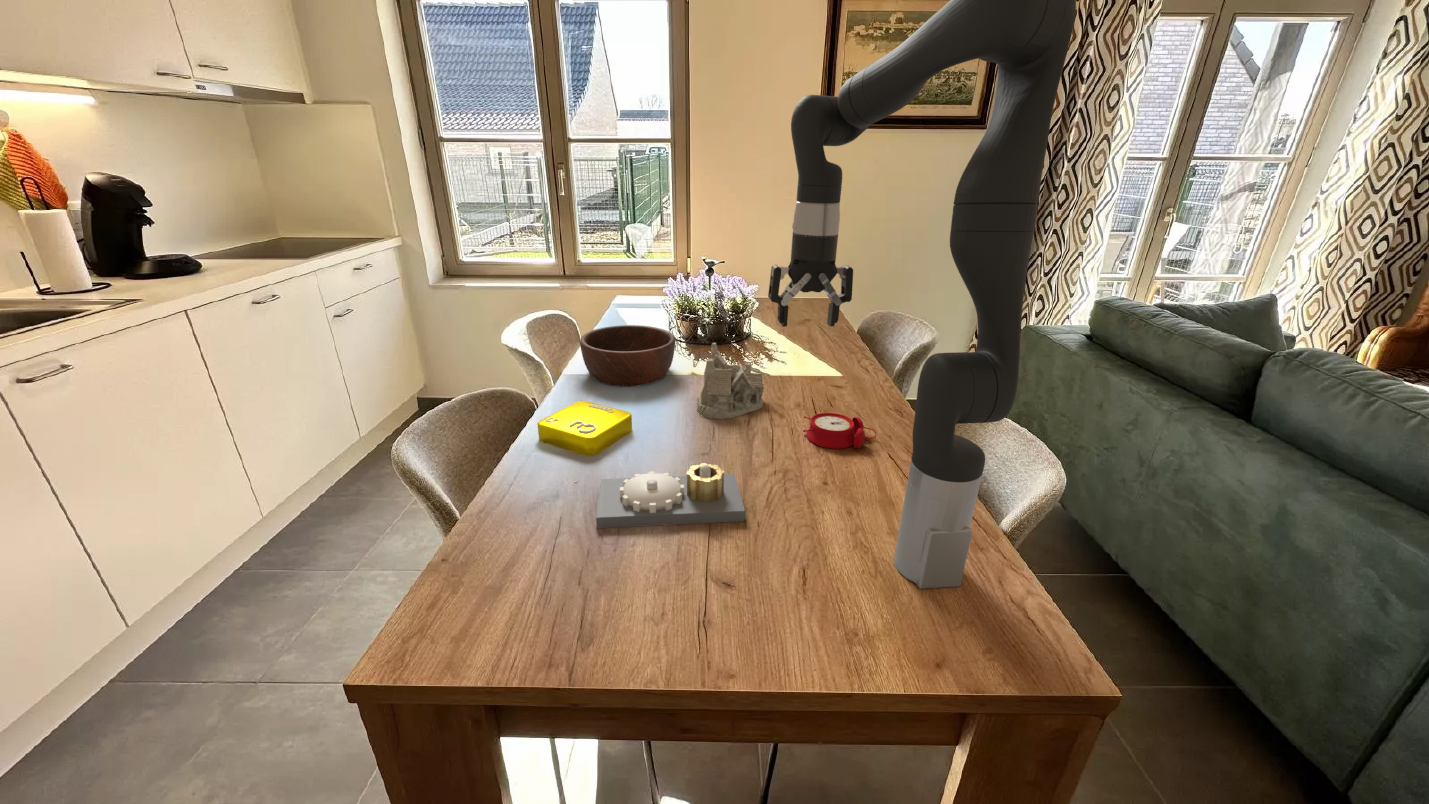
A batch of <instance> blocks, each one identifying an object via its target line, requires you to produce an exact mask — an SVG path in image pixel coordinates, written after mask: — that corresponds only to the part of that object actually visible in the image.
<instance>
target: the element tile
mask: <svg viewBox="0 0 1429 804" xmlns="http://www.w3.org/2000/svg"><path fill="white" fill-rule="evenodd" d="M632 417H633V416H632V413H631V412H629V411H626V410H622V409H619V408H614V407H610V406H606V405H604V404H603V405H602V404H598V403H594V402H590V401H587V400H578V401H575V402H574V403H572V404H570V405H568V406H566V407H564V408H561V409H560V410H558V411H556V412H554V413H552V414H551V415H548V416H546V417H544V418H542V419H540V420H539V421H538V422H537V432H538V440H539V442H540V443H542V444H546V445H550V446H552V447H556V448H559V449H562V450H565V451H569V452H572V453H574V454H575V453H576V454H579V455H582V456H585V457H586V456H589V457H591V456H596V455H598V454H600V453H601V452H604V450H607V449H608V448H609V447H610V446H612V445H614V444H615V443H617V442H618V441H620V440H621V439H623V438H624V437H626V436H628V435H629V434H631V433H632V432H633V422H632V421H633V420H632Z"/></svg>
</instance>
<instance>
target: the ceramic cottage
mask: <svg viewBox="0 0 1429 804" xmlns="http://www.w3.org/2000/svg"><path fill="white" fill-rule="evenodd" d="M710 346H711V349H710V354H711V358H708V359H706V363H705V368H704V372H703V386H702V388H701V392H700V395H699V397H698V398H697V403H696V413H697V412H698V413H699V414H700V415H702V416H704V417H703V418H706V417H707V418H706V419H712V418H724V419H733V418H735V416H736V417H739V416H741V415H740V414H742V415H745V414H747V413H746V412H748V413H750V412H749V411H751V412H753V410H754V411H757V410H760V409H762V408H763V405H764V403H763V398H762V396H763V393H764V383H763V376H764V375H763V373H761V372H752V364H751V363H750V362H746V363H745V367H744V366H743V365H742V363H738V364H728V362H727V360H726V359H725V358H724V357H723V356H722V355H721V354H722V353H721V352H720V351H719V350H718V349H719V348H718V345H717V342H711V345H710ZM698 413H697V414H698ZM744 413H745V414H744ZM699 414H698V415H699ZM700 415H699V416H700ZM702 416H701V417H702ZM732 417H733V418H732Z"/></svg>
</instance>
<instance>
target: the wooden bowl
mask: <svg viewBox="0 0 1429 804" xmlns="http://www.w3.org/2000/svg"><path fill="white" fill-rule="evenodd" d="M579 345H580V351H581V355H582V360H583V362H584V366H585V367H586V370H587V371H588V373H589V374H590V375H591V377H592V378H593V379H594V380H595V381H597V382H599V383H602V384H605V385H608V386H614V385H615V387H637V385H640V386H644V385H650V384H653V383H655V382H658V381H660V380H661V378H662V379H663V378H664V377H666V376H667V373H668V372H669V371H670V368H671V367H672V363H673V362H674V361H673V360H674V356H675V348H676V337H675V335H674V334H673V333H671V332H670V331H669V330H665V329H663V328H659V327H655V326H650V325H649V326H648V325H639V324H637V325H636V324H629V325H628V324H626V325H625V324H623V325H621V324H620V325H611V326H604V327H600V328H596V329H592V330H589V331H588V332H586V333H584V334H583V335H582V336H581V337H580V340H579Z"/></svg>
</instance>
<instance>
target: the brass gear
mask: <svg viewBox="0 0 1429 804" xmlns="http://www.w3.org/2000/svg"><path fill="white" fill-rule="evenodd" d="M702 465H708V466H709V467H710V469H711V476H710V478H700V468H701V466H702ZM724 474H725V471H724V469H721V467H720V465H717V464H710V463H708V464H707V462H701V463H700V464H696V465H691V466H690V467H689V468H688V470H687V471H686V476H687V495H690V497H691V499H692V500H694V501H696V500H698V501H704V503H707V502H710V501H714V500H715V499H716V500H719V499H720V498H721V493H724Z"/></svg>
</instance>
